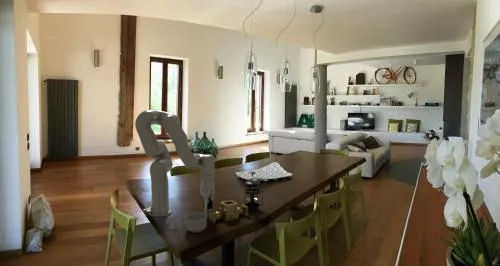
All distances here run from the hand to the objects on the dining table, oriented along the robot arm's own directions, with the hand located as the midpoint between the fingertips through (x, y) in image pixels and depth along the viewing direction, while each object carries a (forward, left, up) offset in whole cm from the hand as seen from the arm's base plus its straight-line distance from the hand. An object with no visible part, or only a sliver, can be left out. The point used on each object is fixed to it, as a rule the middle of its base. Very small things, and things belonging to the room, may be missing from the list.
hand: (207, 207), depth 190 cm
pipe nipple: (0, 0, -4) cm, 4 cm away
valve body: (+8, -10, -4) cm, 14 cm away
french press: (+27, -6, -4) cm, 28 cm away
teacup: (-14, -17, -5) cm, 22 cm away
